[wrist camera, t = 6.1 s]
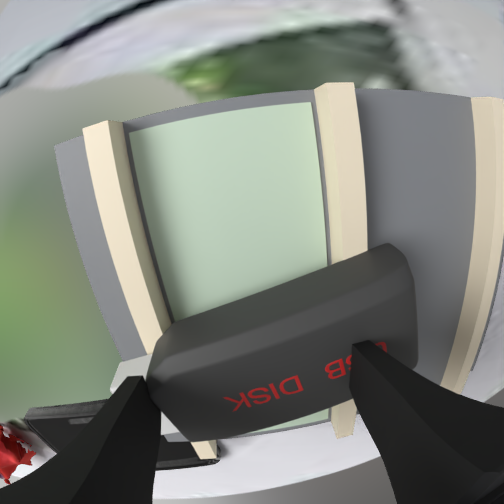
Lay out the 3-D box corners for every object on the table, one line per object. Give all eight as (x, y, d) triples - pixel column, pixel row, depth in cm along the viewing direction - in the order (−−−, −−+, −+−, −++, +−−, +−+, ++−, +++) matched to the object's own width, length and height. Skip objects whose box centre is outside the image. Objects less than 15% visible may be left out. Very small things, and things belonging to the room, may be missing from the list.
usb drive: (401, 339, 13) (429, 376, 10) (169, 416, 13) (162, 460, 11) (388, 240, 11) (428, 269, 8) (110, 341, 12) (89, 385, 9)
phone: (225, 462, 18) (76, 470, 18) (225, 450, 19) (79, 461, 20) (170, 398, 15) (17, 416, 16) (172, 384, 16) (23, 407, 17)
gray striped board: (497, 104, 11) (525, 105, 9) (467, 363, 17) (482, 382, 15) (63, 144, 11) (34, 148, 8) (169, 432, 17) (165, 459, 15)
